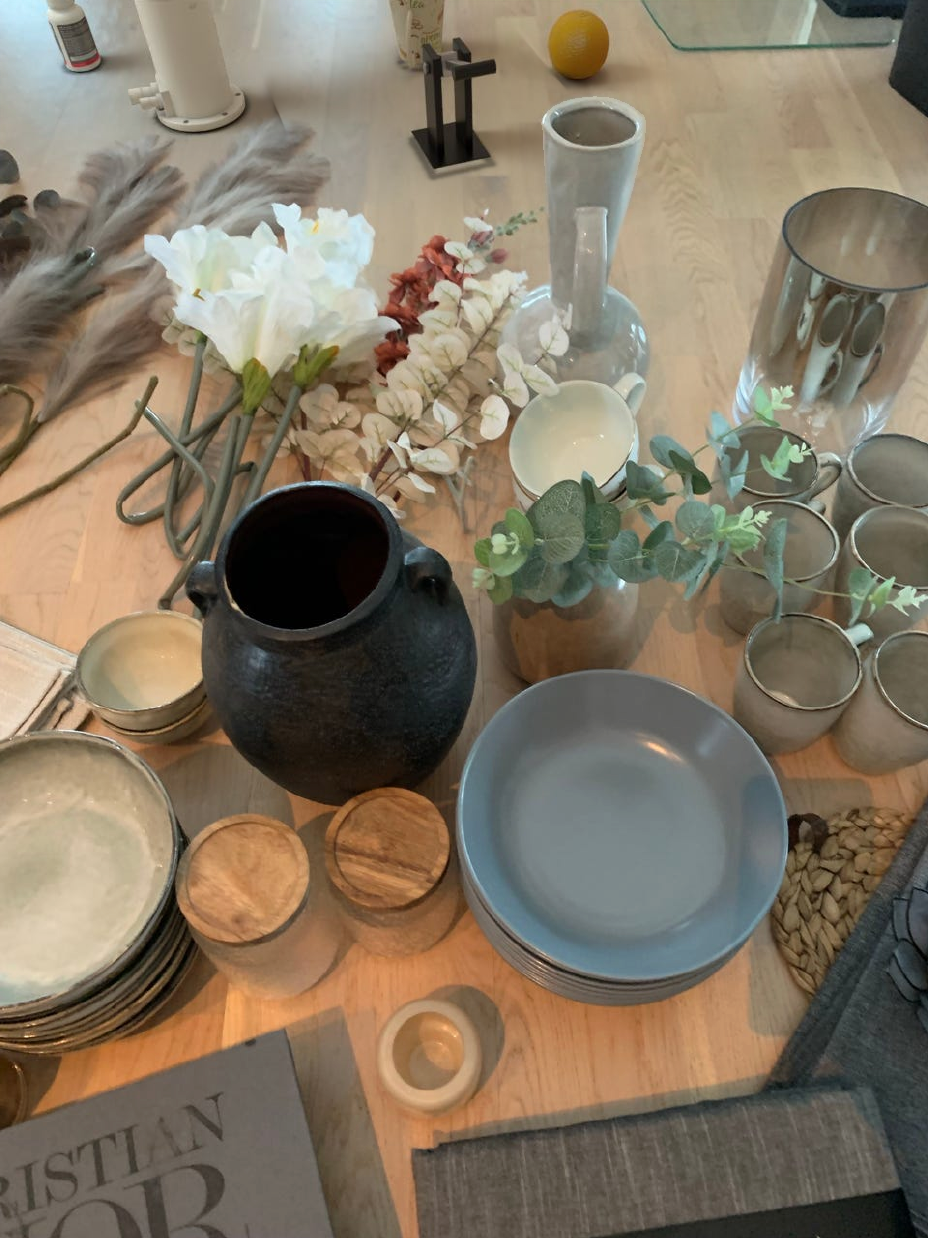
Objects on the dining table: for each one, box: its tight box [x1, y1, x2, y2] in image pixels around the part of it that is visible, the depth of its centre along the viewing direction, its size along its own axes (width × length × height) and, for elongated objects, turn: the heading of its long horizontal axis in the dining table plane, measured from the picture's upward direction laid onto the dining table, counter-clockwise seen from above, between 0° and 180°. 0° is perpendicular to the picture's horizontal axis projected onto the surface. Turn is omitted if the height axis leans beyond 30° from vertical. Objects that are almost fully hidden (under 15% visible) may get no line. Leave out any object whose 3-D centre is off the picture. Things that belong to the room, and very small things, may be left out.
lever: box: [437, 50, 497, 82], centre depth 103 cm, size 13×5×2 cm, turn 19°
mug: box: [388, 0, 446, 68], centre depth 125 cm, size 8×13×10 cm, turn 174°
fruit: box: [547, 9, 610, 80], centre depth 124 cm, size 9×8×8 cm
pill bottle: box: [45, 0, 101, 73], centre depth 129 cm, size 5×5×10 cm
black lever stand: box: [410, 36, 492, 170], centre depth 111 cm, size 10×8×13 cm
